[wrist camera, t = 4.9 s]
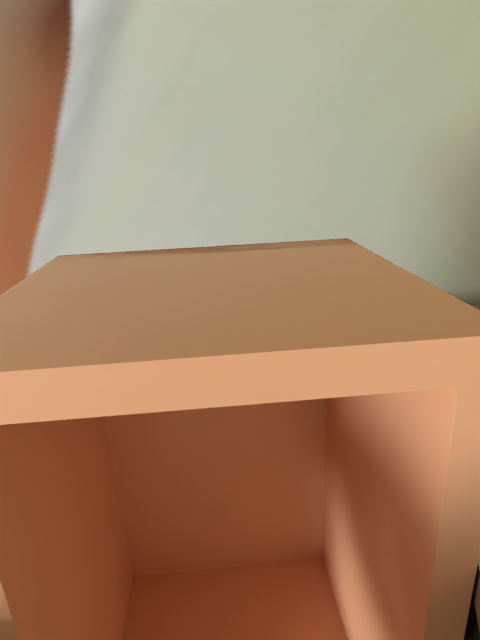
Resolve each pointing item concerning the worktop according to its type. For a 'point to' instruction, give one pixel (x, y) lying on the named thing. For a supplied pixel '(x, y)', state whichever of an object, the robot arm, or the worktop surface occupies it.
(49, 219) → the worktop surface
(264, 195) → the worktop surface
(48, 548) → the small crate
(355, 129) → the worktop surface
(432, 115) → the worktop surface
